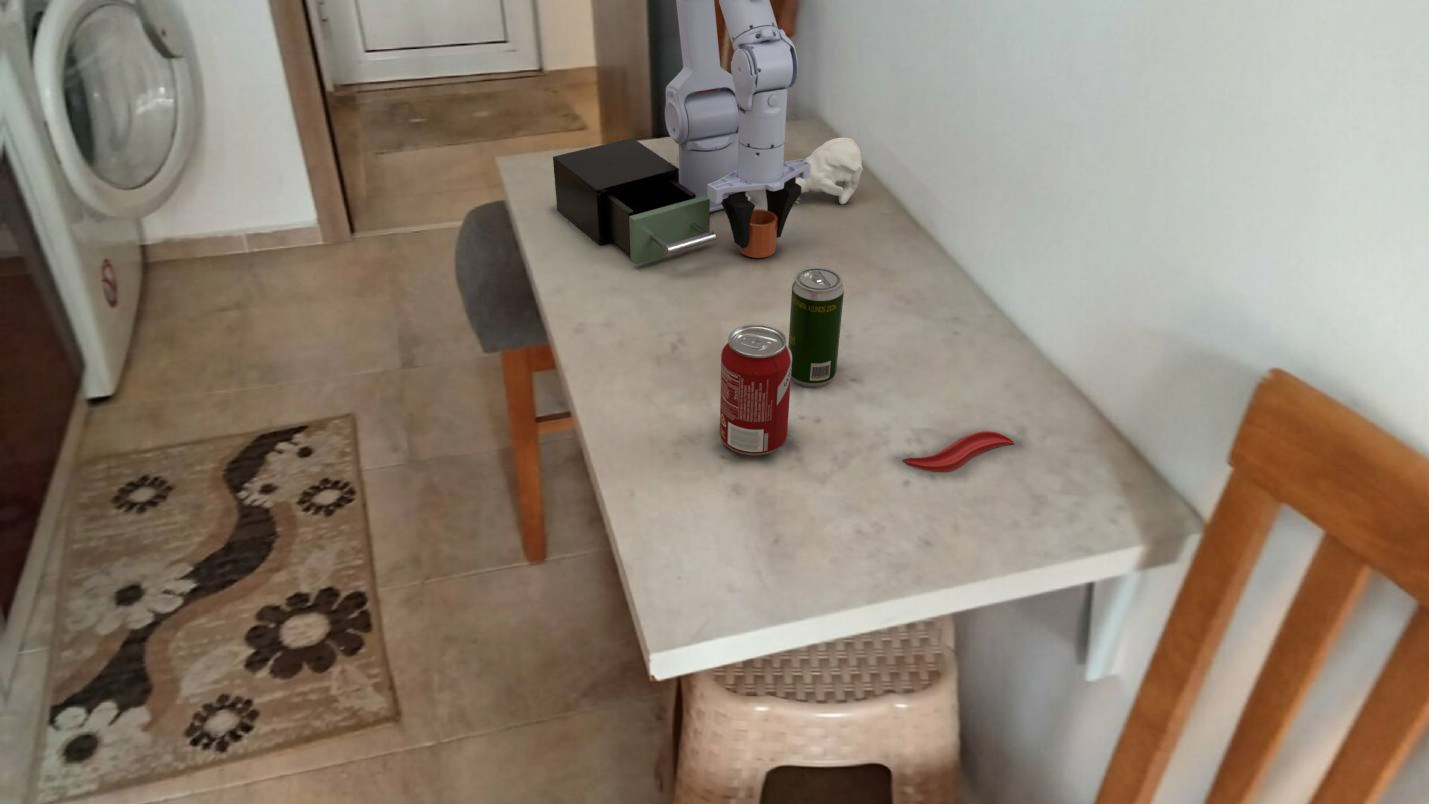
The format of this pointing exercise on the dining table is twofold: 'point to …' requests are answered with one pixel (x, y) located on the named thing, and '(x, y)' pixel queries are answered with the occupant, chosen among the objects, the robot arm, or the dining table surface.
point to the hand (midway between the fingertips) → (757, 239)
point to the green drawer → (656, 219)
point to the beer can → (815, 326)
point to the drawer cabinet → (603, 180)
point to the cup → (761, 234)
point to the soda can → (755, 390)
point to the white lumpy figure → (834, 169)
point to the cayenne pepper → (960, 451)
